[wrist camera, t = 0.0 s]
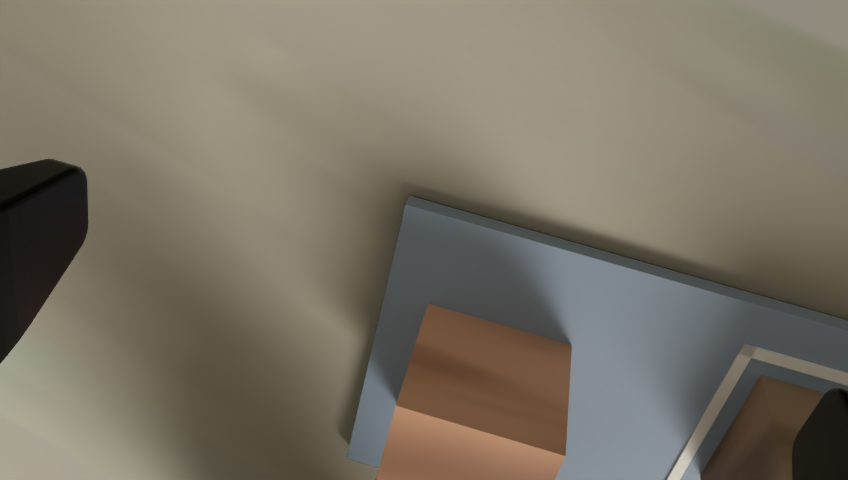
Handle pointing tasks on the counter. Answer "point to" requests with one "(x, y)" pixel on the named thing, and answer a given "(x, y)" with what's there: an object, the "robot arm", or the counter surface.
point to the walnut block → (763, 433)
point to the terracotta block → (479, 404)
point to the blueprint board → (598, 341)
